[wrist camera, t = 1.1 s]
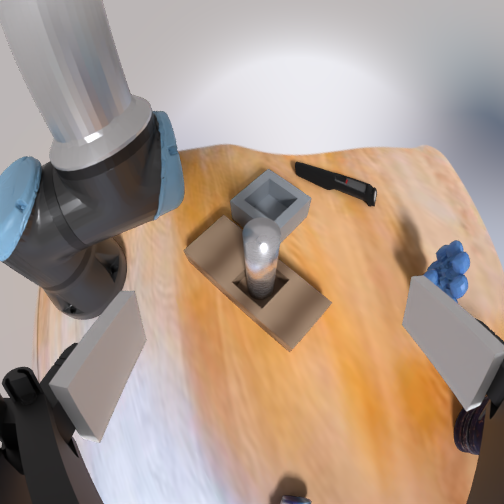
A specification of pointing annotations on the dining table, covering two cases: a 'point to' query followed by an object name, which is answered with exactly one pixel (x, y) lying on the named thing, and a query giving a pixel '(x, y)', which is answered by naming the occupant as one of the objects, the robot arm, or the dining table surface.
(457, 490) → the dining table surface
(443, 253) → the blue lobed rosette
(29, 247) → the robot arm
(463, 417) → the dark blue ridged cylinder
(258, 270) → the axle
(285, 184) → the block
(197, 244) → the beam
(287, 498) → the white long buttoned cylinder
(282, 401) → the dining table surface
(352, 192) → the electric trimmer
